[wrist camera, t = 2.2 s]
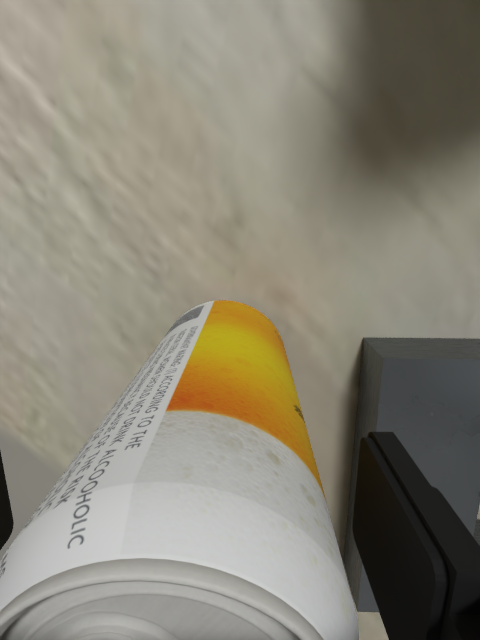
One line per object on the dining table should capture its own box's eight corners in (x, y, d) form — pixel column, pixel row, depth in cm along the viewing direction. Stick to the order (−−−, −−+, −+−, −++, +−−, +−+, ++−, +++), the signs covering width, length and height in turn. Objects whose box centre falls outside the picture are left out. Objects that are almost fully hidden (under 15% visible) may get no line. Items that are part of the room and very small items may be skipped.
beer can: (220, 429, 21) (151, 915, 6) (142, 348, 20) (-162, 708, 5) (308, 360, 20) (473, 757, 5) (229, 271, 19) (158, 453, 4)
